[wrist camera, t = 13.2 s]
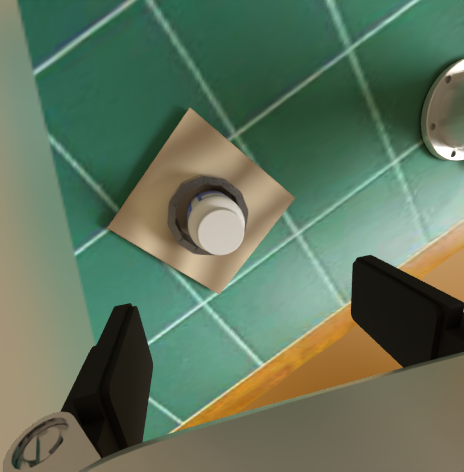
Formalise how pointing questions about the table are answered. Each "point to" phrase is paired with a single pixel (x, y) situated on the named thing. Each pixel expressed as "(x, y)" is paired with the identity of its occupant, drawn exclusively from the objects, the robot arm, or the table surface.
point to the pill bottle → (215, 222)
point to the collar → (185, 186)
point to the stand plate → (183, 168)
